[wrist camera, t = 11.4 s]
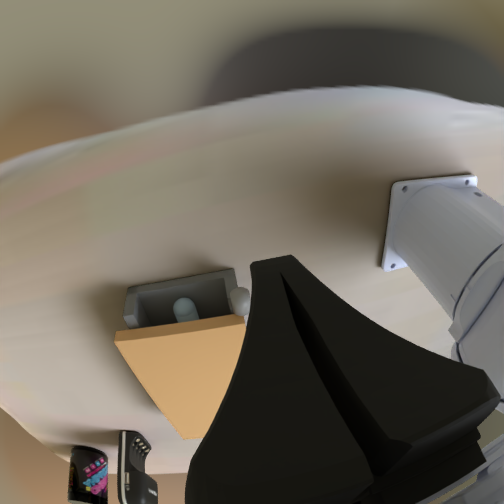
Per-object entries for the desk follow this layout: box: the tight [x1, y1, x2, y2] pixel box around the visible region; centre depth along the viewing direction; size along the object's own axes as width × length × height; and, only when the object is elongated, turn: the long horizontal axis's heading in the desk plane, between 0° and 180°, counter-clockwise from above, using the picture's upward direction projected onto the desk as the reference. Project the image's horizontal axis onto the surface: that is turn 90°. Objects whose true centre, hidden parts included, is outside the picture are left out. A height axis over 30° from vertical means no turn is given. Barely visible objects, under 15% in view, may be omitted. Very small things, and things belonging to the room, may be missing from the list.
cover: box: [114, 314, 246, 439], centre depth 25 cm, size 9×18×1 cm, turn 6°
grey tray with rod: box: [123, 269, 251, 329], centre depth 26 cm, size 9×21×4 cm, turn 6°
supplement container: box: [68, 446, 108, 504], centre depth 35 cm, size 7×7×10 cm
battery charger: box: [117, 431, 158, 504], centre depth 32 cm, size 7×4×11 cm, turn 1°
